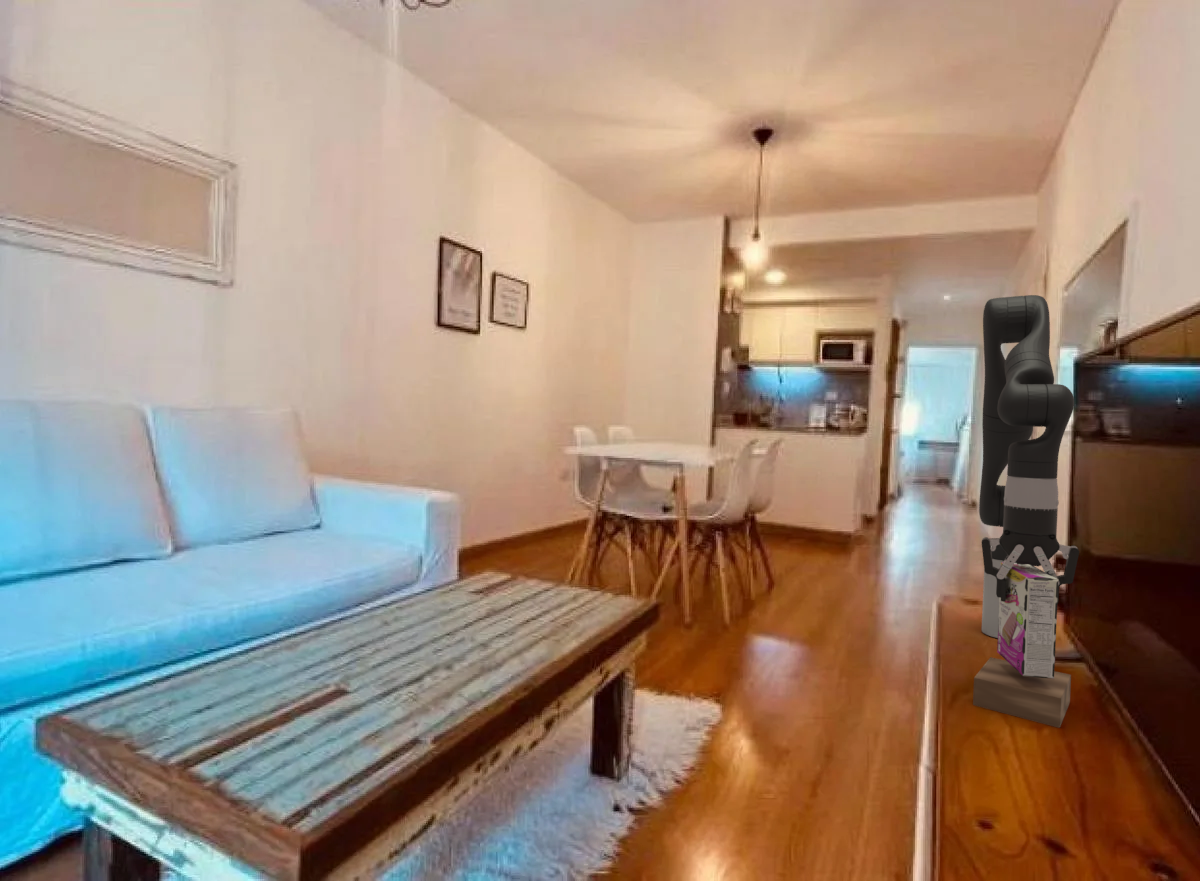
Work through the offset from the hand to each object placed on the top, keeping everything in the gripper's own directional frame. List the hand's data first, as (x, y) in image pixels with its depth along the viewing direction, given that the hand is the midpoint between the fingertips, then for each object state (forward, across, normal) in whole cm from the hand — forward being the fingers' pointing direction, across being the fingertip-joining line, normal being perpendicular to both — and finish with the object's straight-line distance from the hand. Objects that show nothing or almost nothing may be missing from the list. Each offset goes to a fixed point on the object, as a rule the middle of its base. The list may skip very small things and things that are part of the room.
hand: (1026, 603), depth 112 cm
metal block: (+17, 0, 0) cm, 17 cm away
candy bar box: (+11, 0, 0) cm, 11 cm away
